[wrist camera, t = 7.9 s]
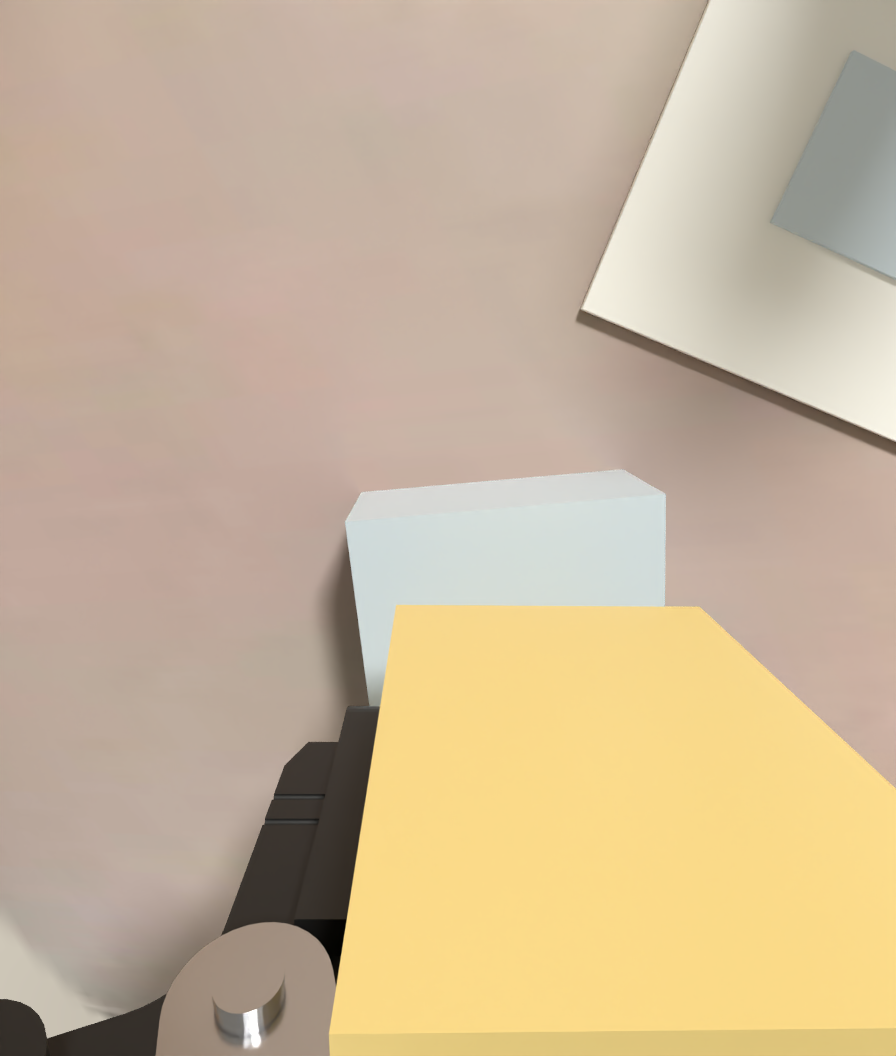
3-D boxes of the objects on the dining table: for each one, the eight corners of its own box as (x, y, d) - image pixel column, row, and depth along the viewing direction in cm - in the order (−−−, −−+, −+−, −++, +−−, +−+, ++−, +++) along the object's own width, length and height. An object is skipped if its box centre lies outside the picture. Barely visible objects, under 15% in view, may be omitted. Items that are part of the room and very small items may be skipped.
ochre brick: (397, 857, 10) (349, 1502, 4) (396, 605, 9) (329, 1036, 3) (666, 857, 10) (960, 1485, 5) (699, 606, 9) (1151, 1024, 3)
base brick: (390, 716, 16) (380, 794, 13) (363, 489, 14) (345, 522, 12) (621, 696, 16) (663, 770, 13) (619, 467, 14) (666, 494, 12)
